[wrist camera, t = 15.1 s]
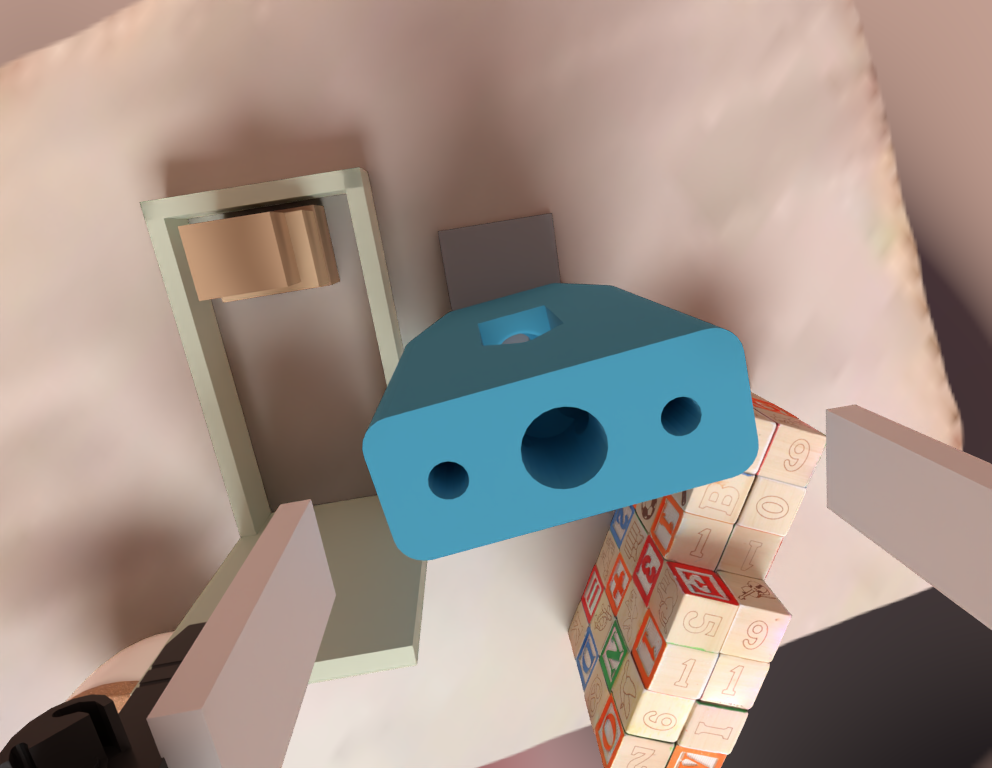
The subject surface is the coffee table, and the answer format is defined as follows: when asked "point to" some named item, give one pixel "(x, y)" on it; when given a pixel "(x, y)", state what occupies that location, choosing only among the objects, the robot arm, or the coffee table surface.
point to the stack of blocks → (691, 607)
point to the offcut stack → (260, 254)
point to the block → (553, 416)
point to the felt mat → (499, 260)
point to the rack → (342, 525)
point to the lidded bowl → (123, 671)
